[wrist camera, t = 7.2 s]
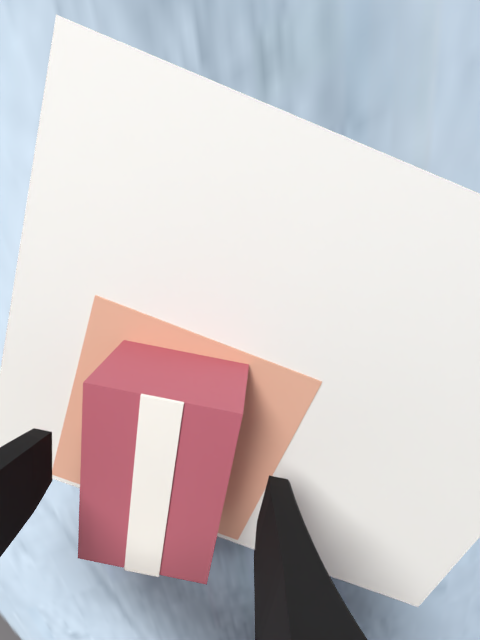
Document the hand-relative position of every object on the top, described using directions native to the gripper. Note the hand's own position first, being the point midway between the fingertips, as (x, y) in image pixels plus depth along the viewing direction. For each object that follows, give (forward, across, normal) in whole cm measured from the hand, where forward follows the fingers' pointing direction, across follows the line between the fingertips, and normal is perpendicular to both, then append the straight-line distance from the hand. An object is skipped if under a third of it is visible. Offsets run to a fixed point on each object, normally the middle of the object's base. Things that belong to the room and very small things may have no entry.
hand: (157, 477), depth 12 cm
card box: (+2, 0, 0) cm, 2 cm away
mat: (+3, -4, -3) cm, 6 cm away
